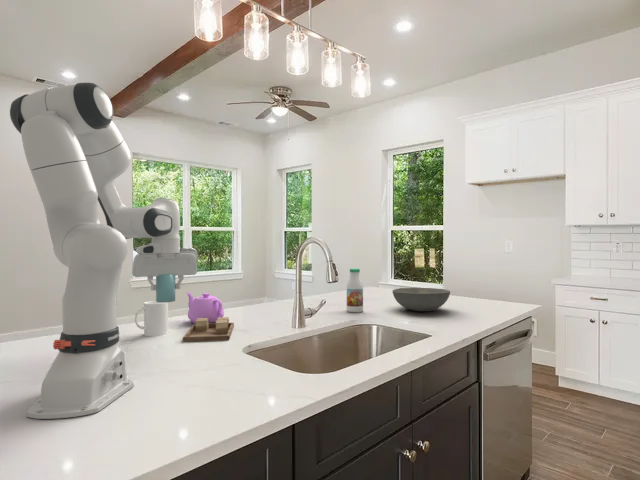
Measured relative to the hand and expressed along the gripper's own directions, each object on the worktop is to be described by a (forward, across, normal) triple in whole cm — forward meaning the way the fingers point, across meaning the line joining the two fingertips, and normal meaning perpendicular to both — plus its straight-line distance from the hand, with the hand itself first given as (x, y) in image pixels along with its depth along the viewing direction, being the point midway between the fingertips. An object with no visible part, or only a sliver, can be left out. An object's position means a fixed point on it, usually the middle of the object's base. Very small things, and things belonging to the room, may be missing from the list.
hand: (165, 289), depth 133 cm
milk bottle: (+17, -86, -10) cm, 88 cm away
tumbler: (+4, 0, 0) cm, 4 cm away
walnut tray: (+18, -16, -3) cm, 24 cm away
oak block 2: (+17, -22, -8) cm, 29 cm away
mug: (+18, +2, -15) cm, 23 cm away
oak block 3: (+17, -20, -3) cm, 27 cm away
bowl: (+16, -113, +5) cm, 114 cm away
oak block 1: (+17, -15, -10) cm, 25 cm away
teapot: (+18, -20, -24) cm, 36 cm away
